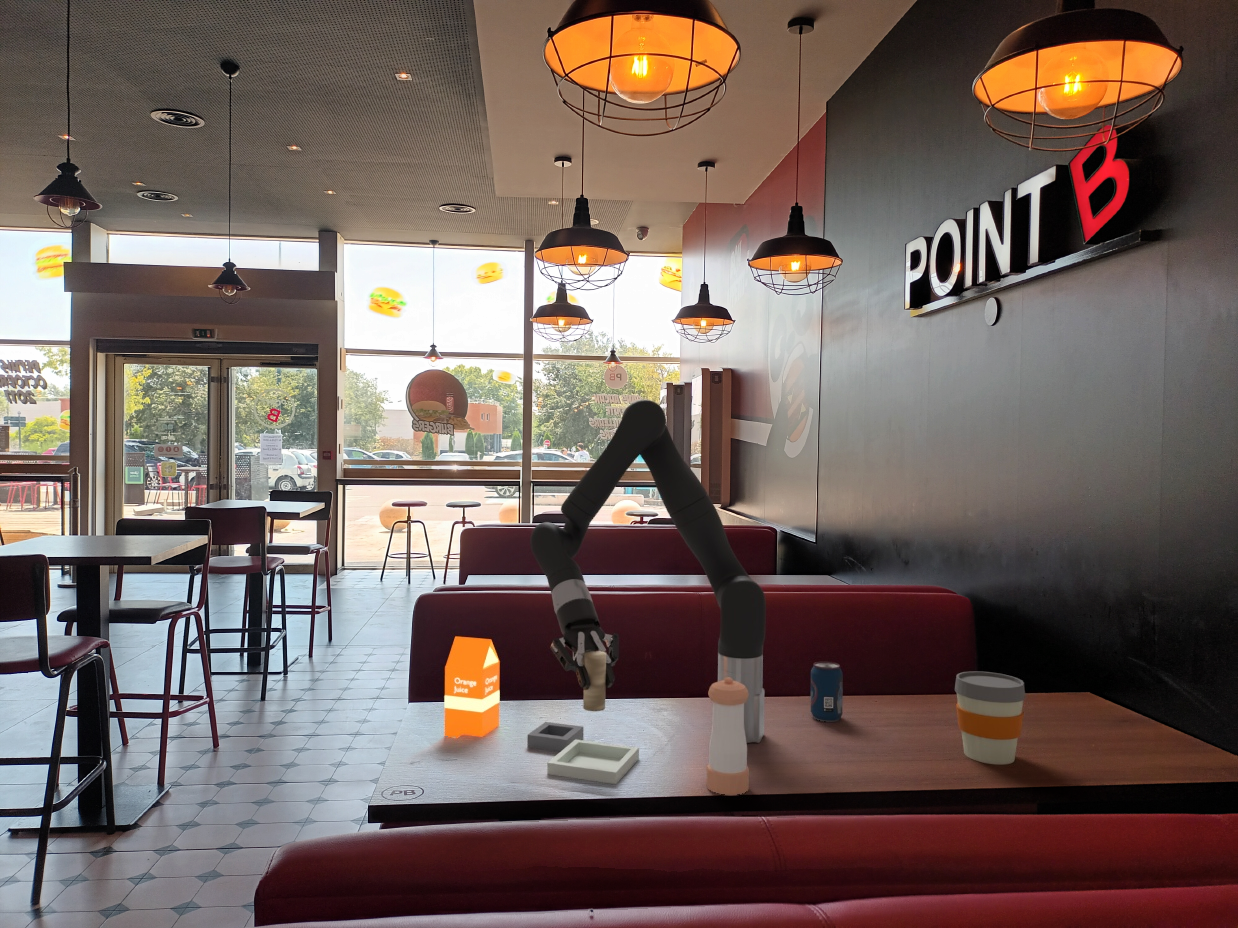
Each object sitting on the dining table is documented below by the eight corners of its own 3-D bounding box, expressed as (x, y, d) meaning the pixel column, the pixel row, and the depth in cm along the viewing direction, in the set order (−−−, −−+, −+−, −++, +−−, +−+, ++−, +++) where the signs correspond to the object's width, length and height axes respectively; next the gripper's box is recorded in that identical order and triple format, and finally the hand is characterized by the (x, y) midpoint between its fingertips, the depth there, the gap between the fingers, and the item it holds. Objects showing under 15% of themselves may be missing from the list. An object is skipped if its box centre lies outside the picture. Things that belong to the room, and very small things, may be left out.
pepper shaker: (702, 791, 137) (703, 680, 137) (712, 776, 144) (713, 670, 144) (743, 798, 135) (744, 685, 135) (752, 782, 141) (753, 674, 142)
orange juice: (481, 741, 161) (482, 643, 161) (443, 736, 164) (444, 639, 164) (499, 729, 169) (500, 635, 169) (463, 725, 172) (463, 632, 172)
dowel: (606, 704, 148) (607, 651, 148) (603, 711, 144) (604, 656, 144) (584, 703, 148) (585, 650, 148) (581, 710, 144) (583, 655, 144)
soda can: (809, 712, 182) (809, 660, 182) (840, 713, 181) (840, 661, 181) (812, 721, 176) (812, 667, 176) (844, 723, 175) (844, 668, 175)
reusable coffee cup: (940, 749, 159) (940, 674, 159) (986, 741, 164) (986, 668, 164) (992, 771, 147) (992, 690, 147) (1040, 762, 152) (1040, 684, 152)
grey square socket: (583, 743, 160) (583, 726, 161) (566, 757, 153) (567, 739, 153) (545, 738, 163) (545, 721, 163) (527, 752, 155) (527, 734, 155)
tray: (638, 763, 150) (639, 747, 150) (615, 789, 138) (615, 772, 138) (575, 754, 154) (575, 739, 154) (547, 779, 142) (547, 762, 142)
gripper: (545, 599, 150) (568, 679, 139) (613, 594, 156) (640, 671, 145) (535, 622, 155) (557, 701, 144) (601, 616, 161) (627, 692, 150)
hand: (599, 685), depth 144 cm, fingers closed on dowel, 4 cm apart
